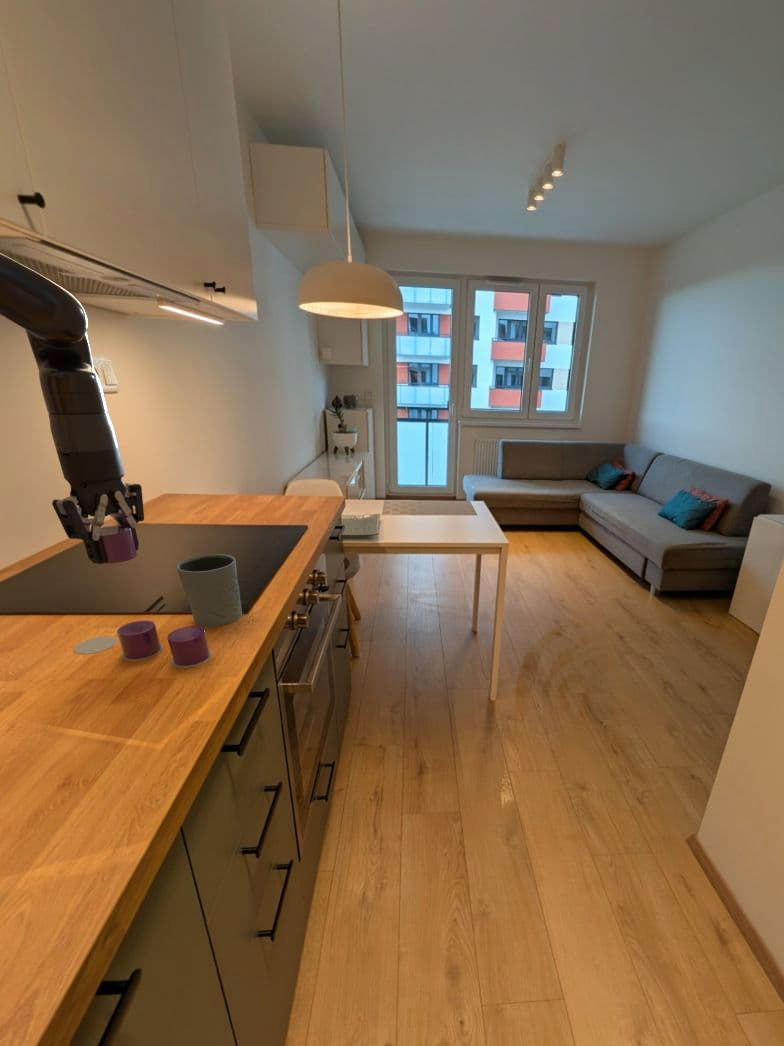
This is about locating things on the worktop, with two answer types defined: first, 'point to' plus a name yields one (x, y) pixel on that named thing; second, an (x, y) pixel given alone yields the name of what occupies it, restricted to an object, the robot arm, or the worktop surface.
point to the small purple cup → (139, 639)
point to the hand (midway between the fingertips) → (116, 556)
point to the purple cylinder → (118, 543)
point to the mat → (108, 642)
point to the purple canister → (188, 645)
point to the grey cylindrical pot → (211, 589)
